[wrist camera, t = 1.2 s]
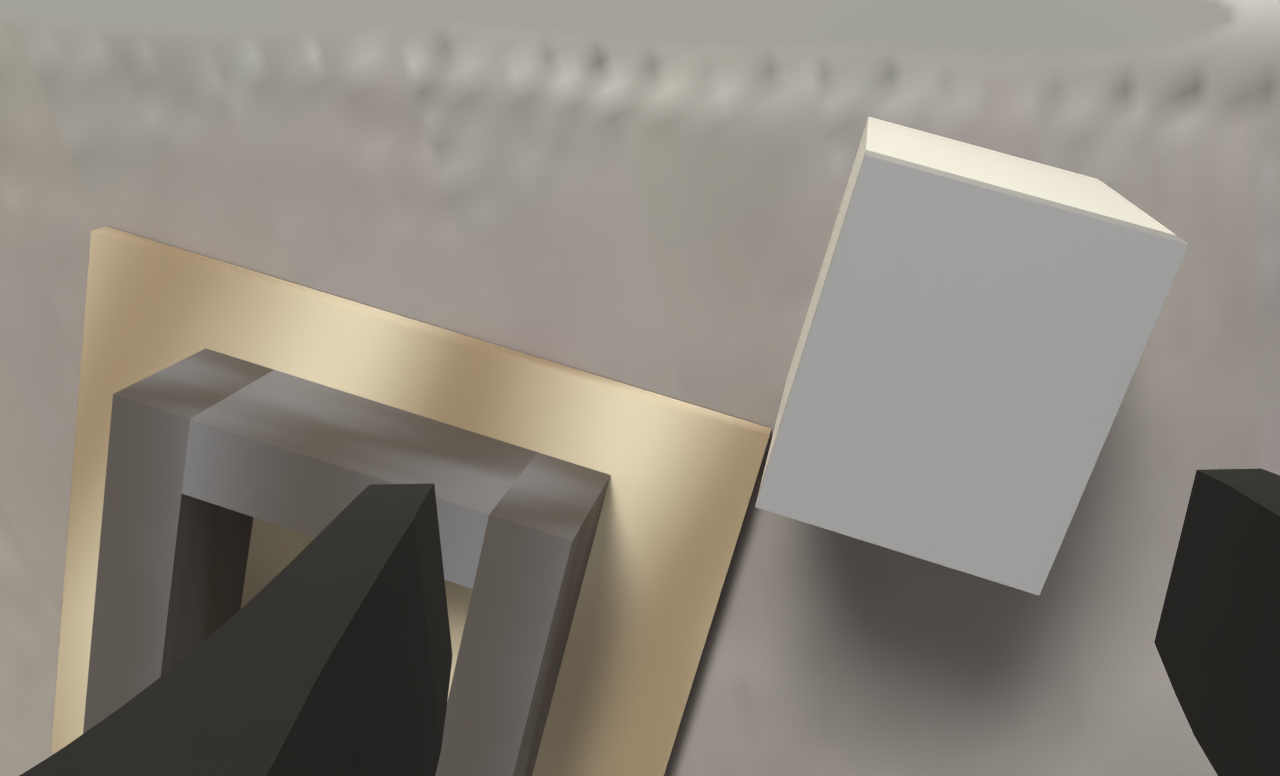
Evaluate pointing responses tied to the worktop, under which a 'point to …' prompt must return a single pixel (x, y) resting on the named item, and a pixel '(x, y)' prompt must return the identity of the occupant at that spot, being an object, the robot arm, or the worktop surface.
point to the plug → (964, 354)
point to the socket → (391, 454)
